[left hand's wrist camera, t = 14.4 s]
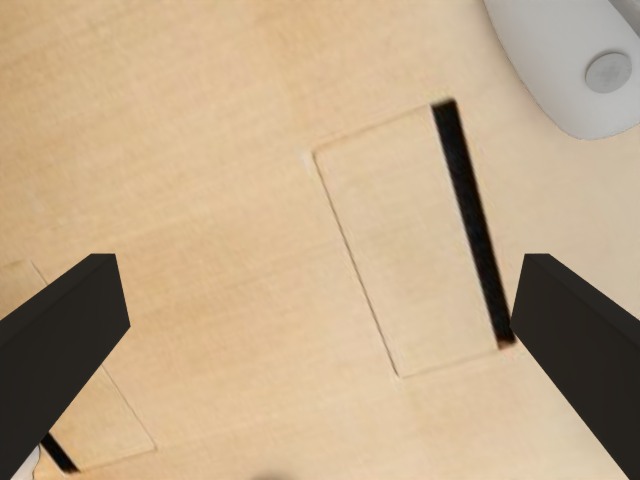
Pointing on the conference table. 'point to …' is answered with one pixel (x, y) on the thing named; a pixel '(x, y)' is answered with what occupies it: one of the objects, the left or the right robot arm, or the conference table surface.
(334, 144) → the conference table surface
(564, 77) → the projector
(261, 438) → the conference table surface
